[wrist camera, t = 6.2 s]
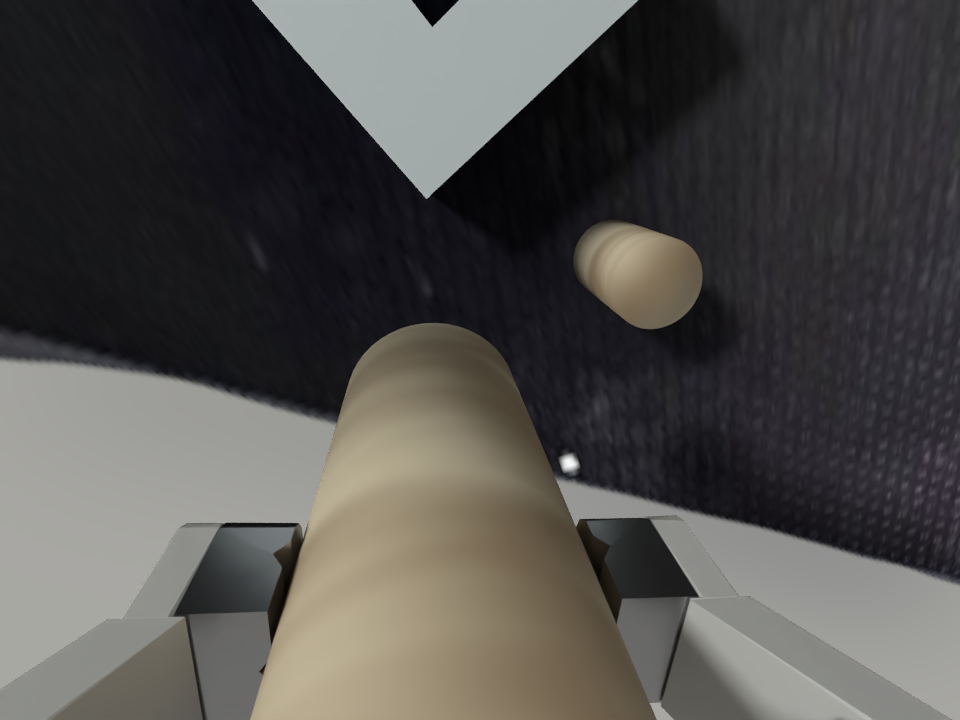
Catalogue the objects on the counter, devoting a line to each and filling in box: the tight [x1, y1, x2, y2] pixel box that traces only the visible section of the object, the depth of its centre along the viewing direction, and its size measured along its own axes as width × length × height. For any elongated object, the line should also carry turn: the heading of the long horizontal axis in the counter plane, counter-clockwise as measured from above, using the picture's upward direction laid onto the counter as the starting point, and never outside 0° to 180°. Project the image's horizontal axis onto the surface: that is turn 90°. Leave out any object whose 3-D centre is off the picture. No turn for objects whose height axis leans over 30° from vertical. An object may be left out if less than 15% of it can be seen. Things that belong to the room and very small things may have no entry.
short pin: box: [573, 220, 702, 329], centre depth 25 cm, size 4×4×6 cm
